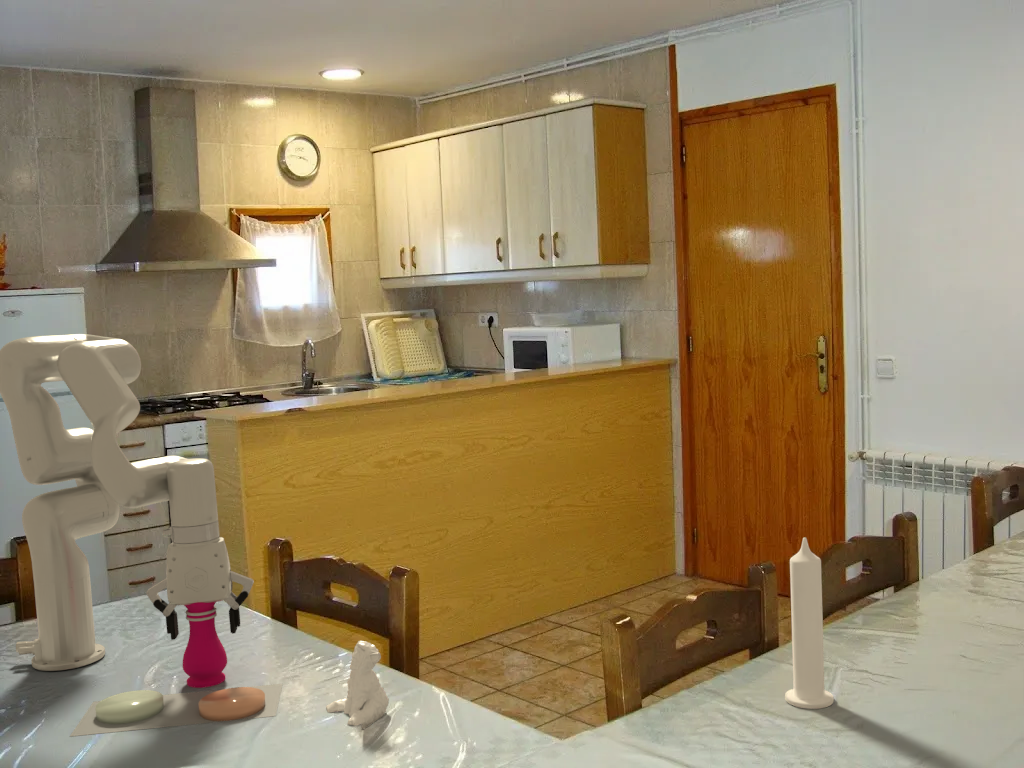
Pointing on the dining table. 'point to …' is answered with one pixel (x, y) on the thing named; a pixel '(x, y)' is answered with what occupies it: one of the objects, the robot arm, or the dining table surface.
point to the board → (174, 713)
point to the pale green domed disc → (129, 707)
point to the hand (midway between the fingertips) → (204, 634)
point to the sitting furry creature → (363, 688)
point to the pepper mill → (203, 647)
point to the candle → (807, 632)
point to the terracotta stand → (231, 703)
